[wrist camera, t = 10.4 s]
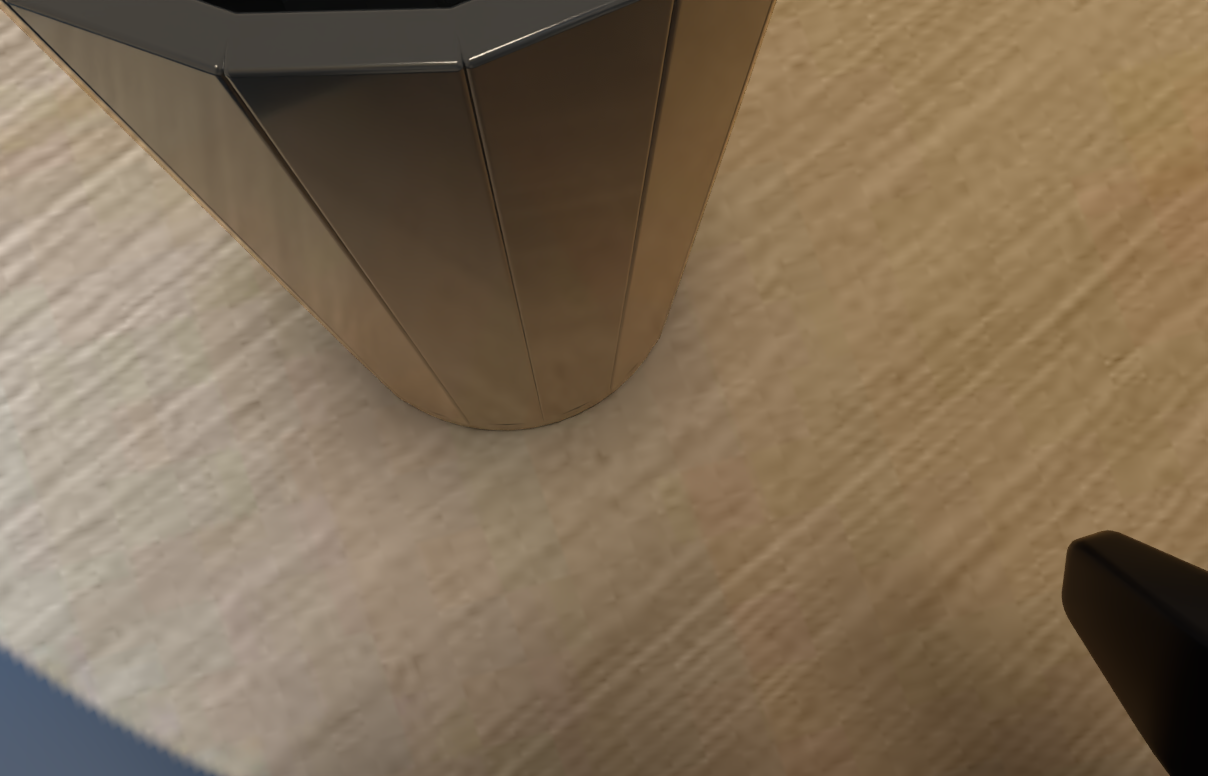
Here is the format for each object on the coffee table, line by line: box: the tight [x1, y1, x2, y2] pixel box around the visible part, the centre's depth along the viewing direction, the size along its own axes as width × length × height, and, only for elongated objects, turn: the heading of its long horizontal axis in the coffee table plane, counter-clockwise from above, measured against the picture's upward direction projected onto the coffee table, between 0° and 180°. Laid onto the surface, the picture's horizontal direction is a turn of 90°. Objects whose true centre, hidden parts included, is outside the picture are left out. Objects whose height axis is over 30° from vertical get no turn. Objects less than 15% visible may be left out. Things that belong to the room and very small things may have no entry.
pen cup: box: [0, 0, 777, 430], centre depth 12 cm, size 7×7×13 cm
